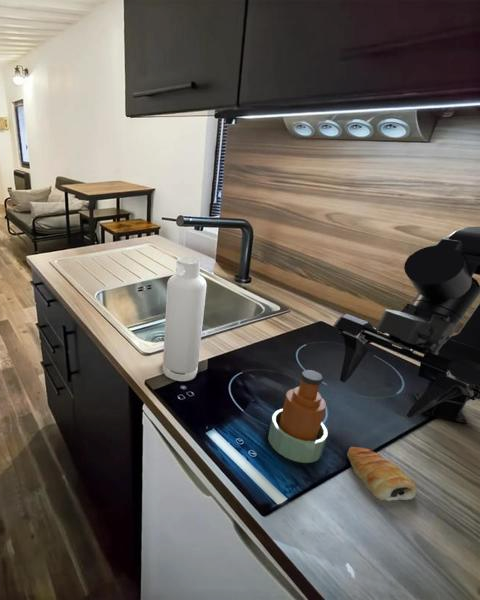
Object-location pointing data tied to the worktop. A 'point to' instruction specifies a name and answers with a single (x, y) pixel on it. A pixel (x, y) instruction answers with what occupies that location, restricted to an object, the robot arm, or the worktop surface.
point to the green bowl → (296, 442)
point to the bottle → (184, 320)
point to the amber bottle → (304, 408)
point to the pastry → (381, 475)
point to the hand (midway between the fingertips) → (372, 398)
